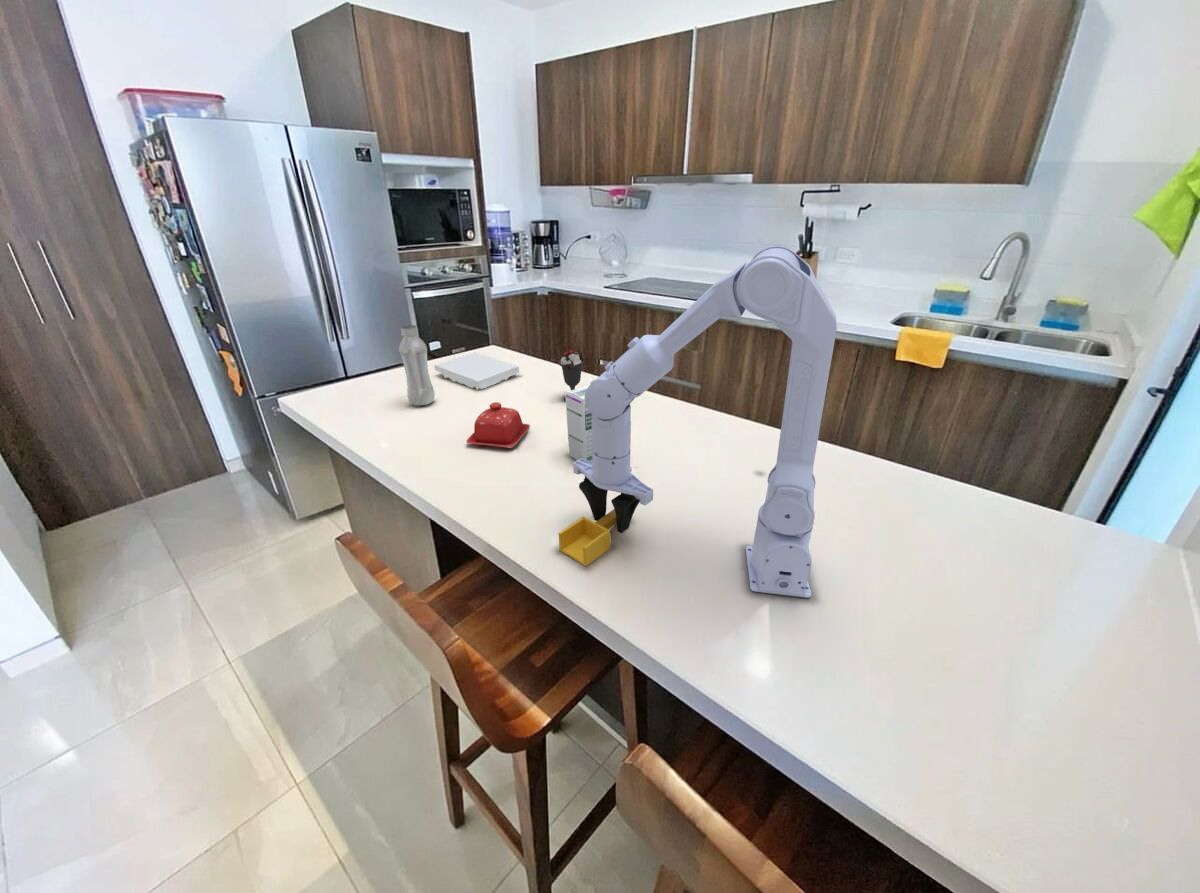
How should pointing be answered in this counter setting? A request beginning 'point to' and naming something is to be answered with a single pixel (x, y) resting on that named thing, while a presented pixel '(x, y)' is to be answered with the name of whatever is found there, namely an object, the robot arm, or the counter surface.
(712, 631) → the counter surface
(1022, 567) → the counter surface
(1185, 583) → the counter surface
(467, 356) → the food packaging
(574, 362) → the sundae
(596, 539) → the scoop
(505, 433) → the butter dish
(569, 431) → the syrup box
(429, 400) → the plastic bottle
